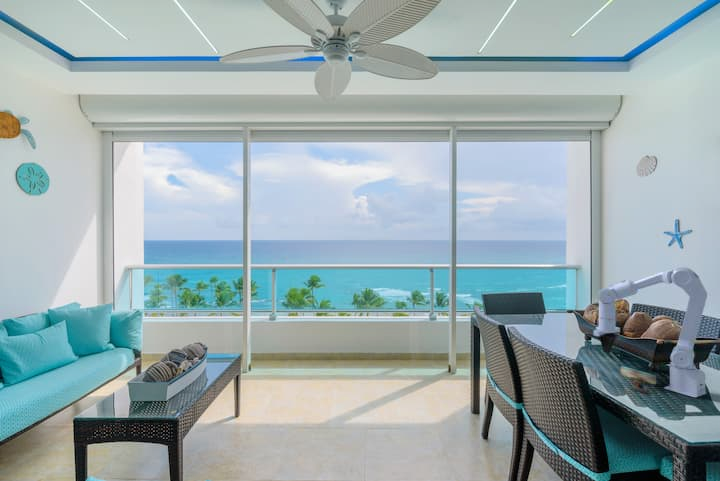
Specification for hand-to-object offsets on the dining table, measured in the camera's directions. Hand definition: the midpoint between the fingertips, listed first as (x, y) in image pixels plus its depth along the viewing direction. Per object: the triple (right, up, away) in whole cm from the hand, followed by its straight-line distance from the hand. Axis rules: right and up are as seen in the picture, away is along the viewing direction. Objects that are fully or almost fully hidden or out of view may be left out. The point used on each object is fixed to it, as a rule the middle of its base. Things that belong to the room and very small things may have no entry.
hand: (606, 352), depth 157 cm
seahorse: (+5, -10, -12) cm, 16 cm away
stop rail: (+9, -9, -4) cm, 14 cm away
